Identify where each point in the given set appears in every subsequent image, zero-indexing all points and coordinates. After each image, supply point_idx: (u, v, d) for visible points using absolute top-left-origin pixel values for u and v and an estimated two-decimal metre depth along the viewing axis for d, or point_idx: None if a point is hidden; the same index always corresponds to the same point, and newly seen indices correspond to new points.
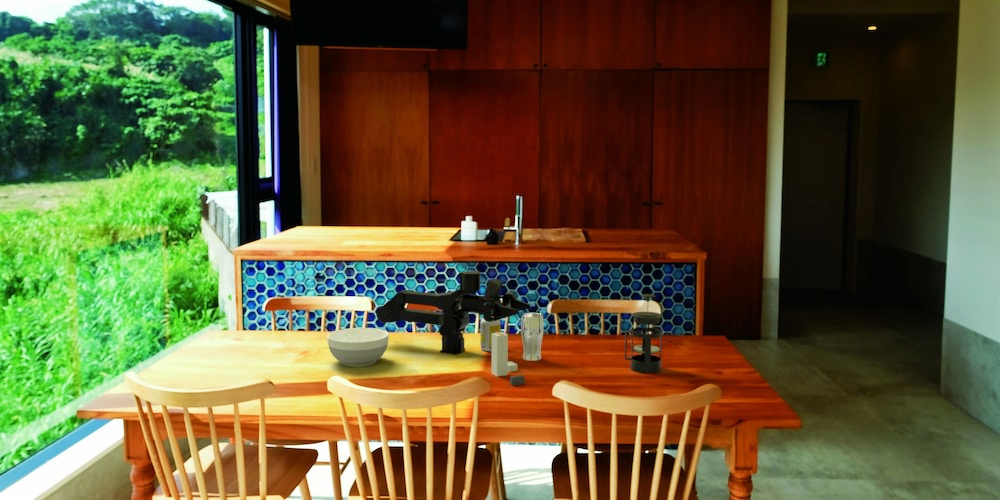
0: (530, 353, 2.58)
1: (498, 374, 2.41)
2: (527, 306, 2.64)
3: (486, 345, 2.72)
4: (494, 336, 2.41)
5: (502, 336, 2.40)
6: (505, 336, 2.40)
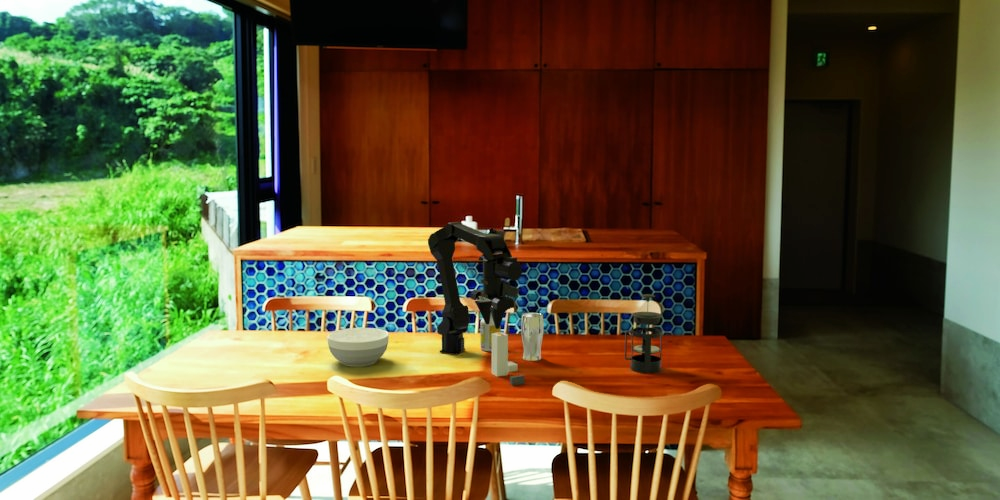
0: (530, 353, 2.58)
1: (498, 374, 2.41)
2: (487, 321, 2.59)
3: (486, 345, 2.72)
4: (494, 336, 2.41)
5: (502, 336, 2.40)
6: (505, 336, 2.40)
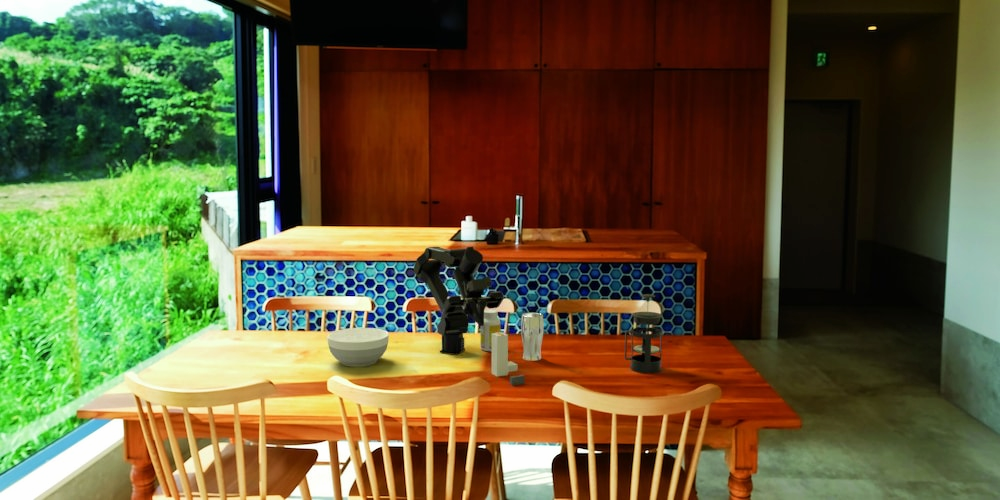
0: (530, 353, 2.58)
1: (498, 374, 2.41)
2: None
3: (486, 345, 2.72)
4: (494, 336, 2.41)
5: (502, 336, 2.40)
6: (505, 336, 2.40)
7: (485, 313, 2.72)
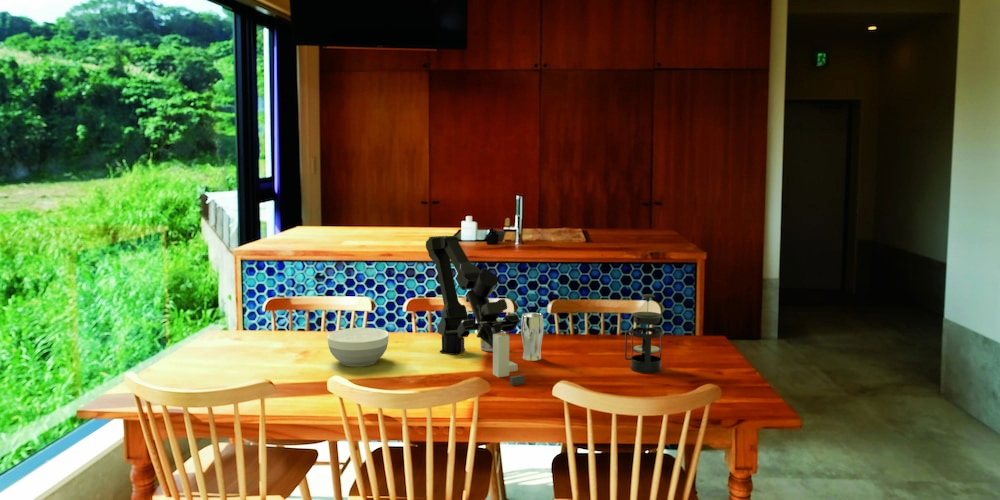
0: (530, 353, 2.58)
1: (499, 375, 2.40)
2: None
3: (486, 345, 2.72)
4: (495, 337, 2.40)
5: (503, 337, 2.39)
6: (506, 337, 2.40)
7: None
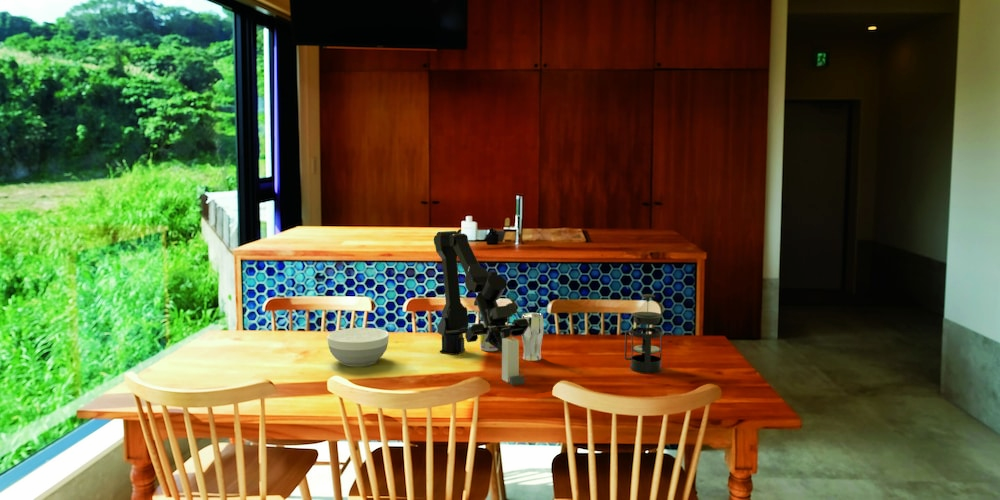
0: (530, 353, 2.58)
1: (509, 380, 2.35)
2: None
3: (486, 345, 2.72)
4: (505, 341, 2.35)
5: (513, 341, 2.34)
6: (516, 341, 2.35)
7: None
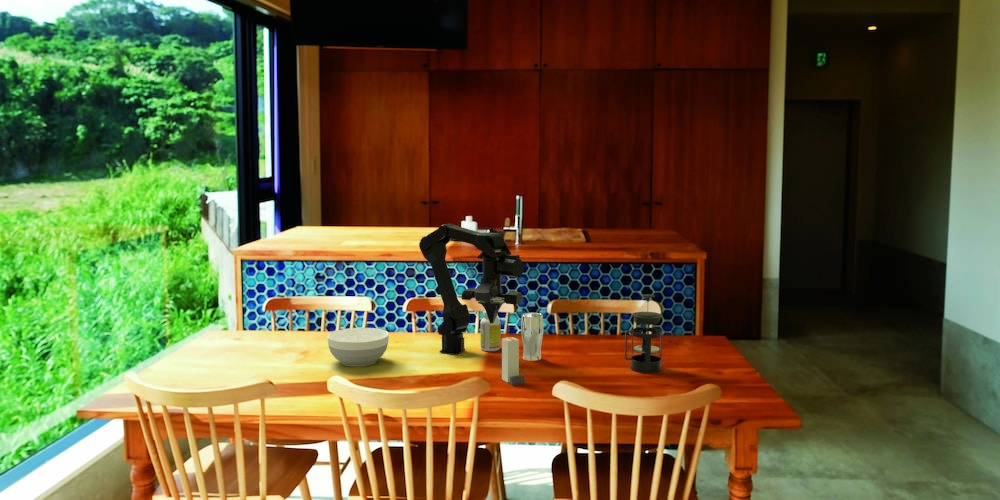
0: (530, 353, 2.58)
1: (509, 380, 2.35)
2: None
3: (485, 345, 2.72)
4: (505, 341, 2.35)
5: (513, 341, 2.34)
6: (516, 341, 2.35)
7: (485, 313, 2.72)
